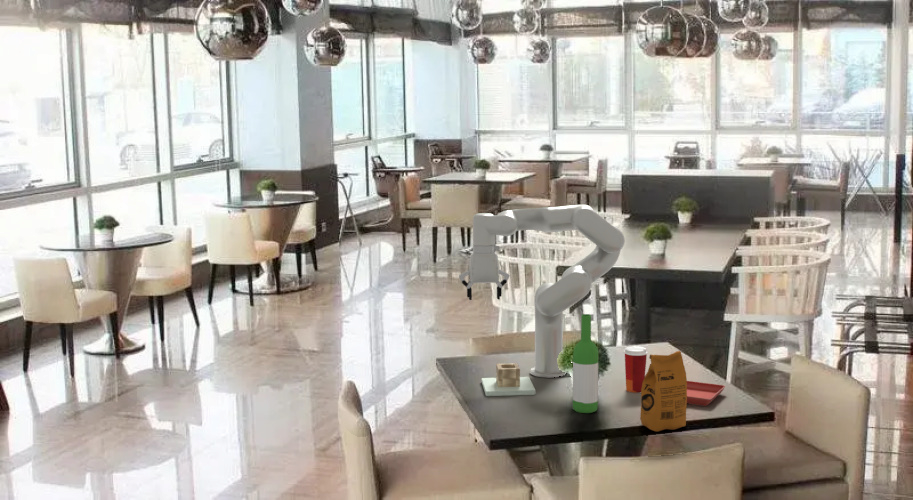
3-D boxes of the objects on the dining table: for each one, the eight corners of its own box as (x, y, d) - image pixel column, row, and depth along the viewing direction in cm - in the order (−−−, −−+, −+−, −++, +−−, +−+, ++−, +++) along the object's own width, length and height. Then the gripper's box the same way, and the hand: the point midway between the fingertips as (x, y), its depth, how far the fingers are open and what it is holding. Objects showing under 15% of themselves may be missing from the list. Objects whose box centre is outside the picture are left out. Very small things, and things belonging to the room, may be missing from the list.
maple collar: (517, 380, 373) (517, 363, 372) (519, 386, 366) (519, 368, 365) (496, 381, 372) (496, 363, 371) (498, 387, 366) (498, 369, 365)
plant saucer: (671, 387, 370) (671, 378, 370) (725, 394, 362) (726, 384, 361) (654, 402, 354) (654, 391, 354) (710, 409, 346) (710, 399, 345)
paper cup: (649, 388, 368) (650, 347, 366) (643, 394, 361) (644, 352, 359) (626, 385, 371) (627, 344, 369) (619, 392, 364) (620, 350, 362)
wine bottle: (578, 405, 350) (579, 311, 346) (601, 408, 346) (603, 313, 342) (568, 411, 344) (569, 316, 339) (591, 415, 340) (592, 318, 335)
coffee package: (635, 423, 332) (637, 351, 328) (671, 418, 336) (673, 347, 333) (653, 433, 323) (655, 359, 319) (690, 428, 327) (692, 354, 324)
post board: (528, 381, 378) (528, 365, 377) (535, 394, 362) (535, 378, 361) (481, 382, 377) (481, 366, 376) (486, 396, 361) (485, 379, 360)
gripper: (508, 247, 385) (508, 296, 388) (457, 248, 384) (458, 297, 387) (510, 251, 378) (510, 300, 380) (459, 251, 377) (459, 301, 379)
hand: (484, 299), depth 384 cm, fingers open, 9 cm apart
